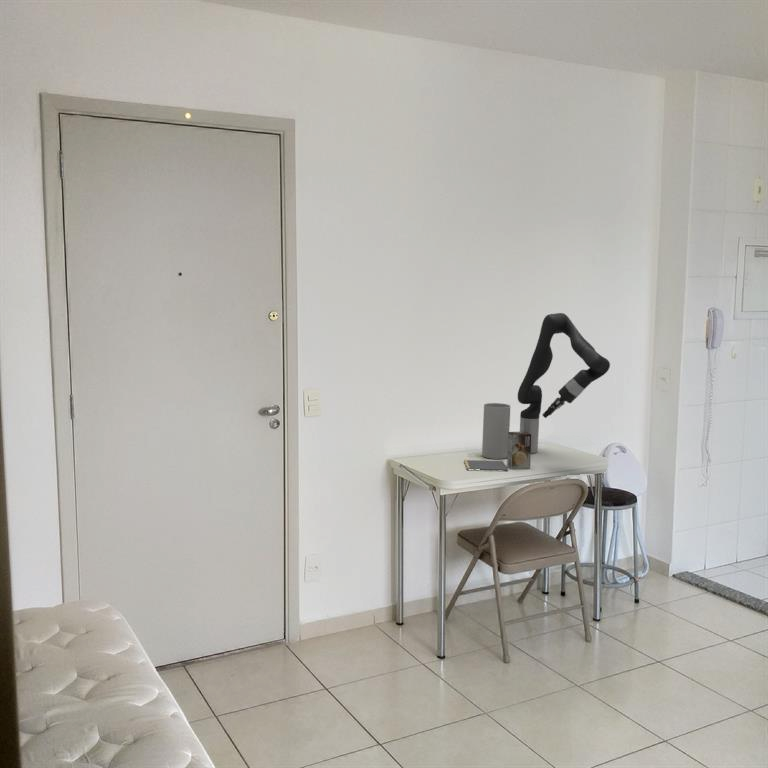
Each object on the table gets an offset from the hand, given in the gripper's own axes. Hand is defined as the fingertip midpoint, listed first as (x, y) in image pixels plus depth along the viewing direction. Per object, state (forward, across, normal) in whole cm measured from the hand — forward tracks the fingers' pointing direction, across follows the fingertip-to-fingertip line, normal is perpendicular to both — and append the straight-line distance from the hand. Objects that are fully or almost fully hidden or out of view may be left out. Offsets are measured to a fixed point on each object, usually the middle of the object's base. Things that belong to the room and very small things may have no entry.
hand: (545, 415), depth 353 cm
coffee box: (+26, 0, +8) cm, 28 cm away
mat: (+35, +6, -2) cm, 36 cm away
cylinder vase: (+36, -15, -3) cm, 39 cm away
